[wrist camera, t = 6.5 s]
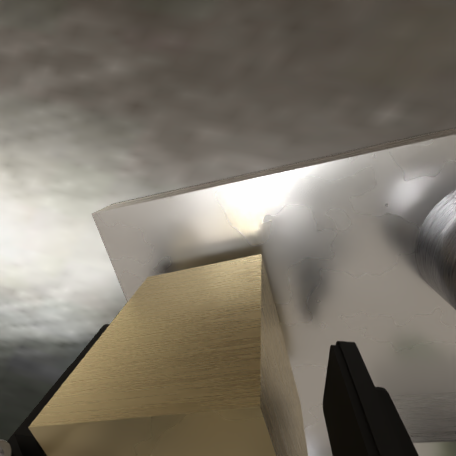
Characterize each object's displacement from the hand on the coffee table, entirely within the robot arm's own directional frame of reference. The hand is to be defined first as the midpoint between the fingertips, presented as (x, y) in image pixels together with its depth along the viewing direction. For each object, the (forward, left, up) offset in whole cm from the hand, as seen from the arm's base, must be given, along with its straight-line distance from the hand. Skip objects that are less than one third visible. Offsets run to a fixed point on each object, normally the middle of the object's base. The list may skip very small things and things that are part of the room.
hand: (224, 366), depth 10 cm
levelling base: (-4, +6, -4) cm, 8 cm away
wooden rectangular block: (0, +2, -2) cm, 3 cm away
